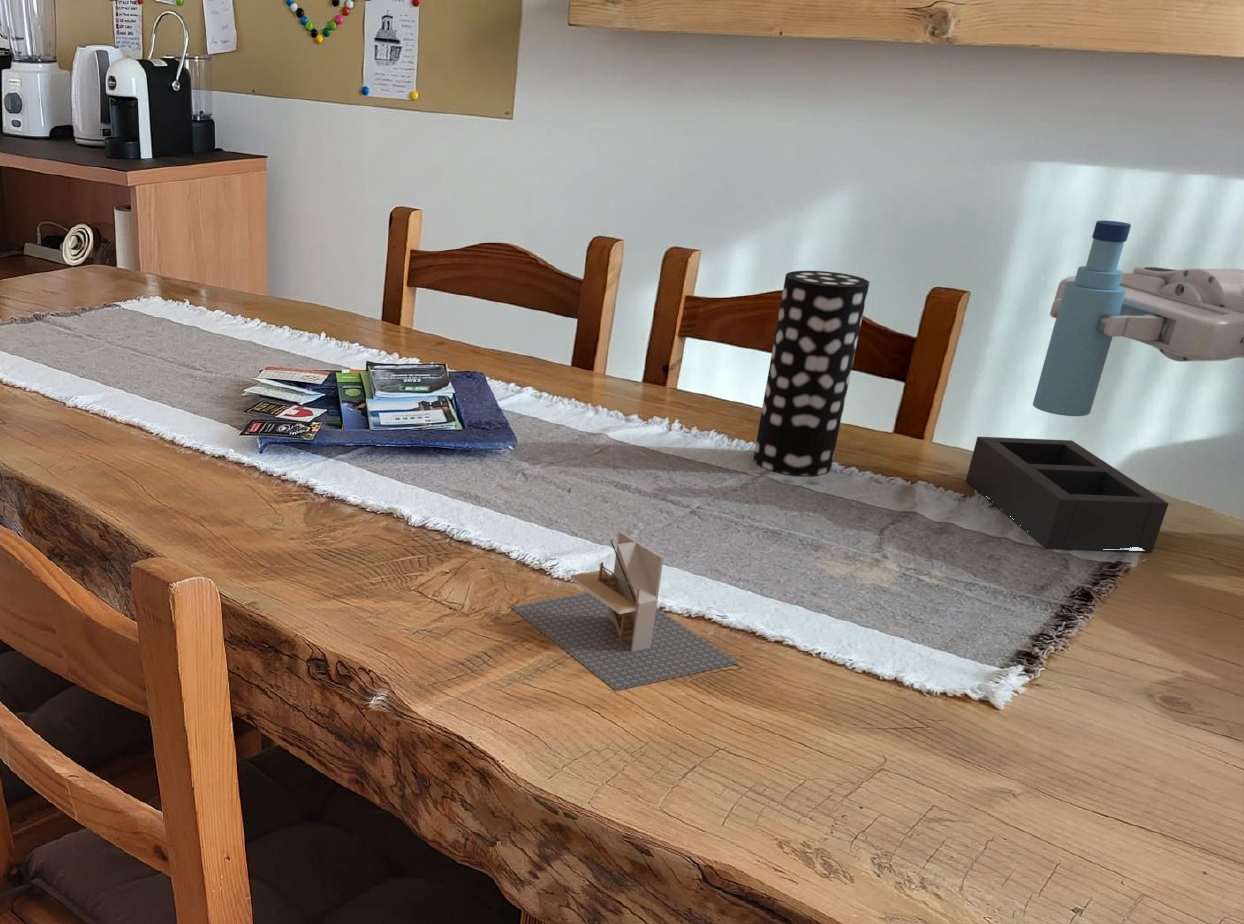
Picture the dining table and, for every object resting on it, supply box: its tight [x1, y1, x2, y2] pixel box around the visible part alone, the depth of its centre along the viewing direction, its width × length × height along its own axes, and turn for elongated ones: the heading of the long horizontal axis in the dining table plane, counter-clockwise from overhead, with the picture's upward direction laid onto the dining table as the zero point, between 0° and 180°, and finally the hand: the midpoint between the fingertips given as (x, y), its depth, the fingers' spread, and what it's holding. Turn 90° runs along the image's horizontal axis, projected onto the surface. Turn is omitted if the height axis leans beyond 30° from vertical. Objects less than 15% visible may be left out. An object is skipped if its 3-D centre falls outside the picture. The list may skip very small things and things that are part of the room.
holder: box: [965, 436, 1169, 554], centre depth 126 cm, size 10×19×5 cm, turn 0°
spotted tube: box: [752, 270, 870, 477], centre depth 134 cm, size 8×8×20 cm
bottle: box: [1032, 220, 1132, 417], centre depth 120 cm, size 5×5×18 cm
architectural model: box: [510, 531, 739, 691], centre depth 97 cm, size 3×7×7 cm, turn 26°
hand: (1078, 317), depth 120 cm, fingers closed on bottle, 5 cm apart
